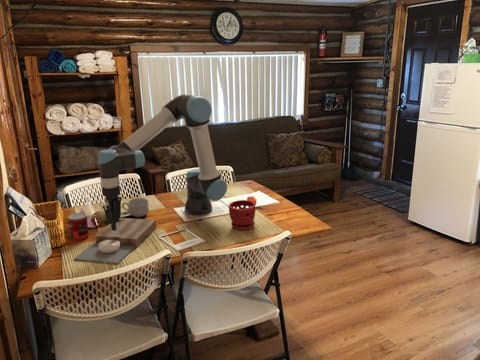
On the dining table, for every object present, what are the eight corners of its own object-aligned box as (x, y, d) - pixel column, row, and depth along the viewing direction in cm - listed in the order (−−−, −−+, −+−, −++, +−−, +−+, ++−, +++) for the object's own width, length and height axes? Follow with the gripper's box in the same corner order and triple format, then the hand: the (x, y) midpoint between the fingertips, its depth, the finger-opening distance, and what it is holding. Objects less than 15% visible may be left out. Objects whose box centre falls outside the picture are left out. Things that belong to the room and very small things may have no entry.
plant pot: (242, 219, 205) (242, 197, 201) (260, 226, 196) (260, 204, 192) (223, 226, 196) (223, 204, 192) (242, 234, 187) (242, 210, 183)
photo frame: (177, 249, 170) (158, 236, 184) (177, 252, 170) (158, 238, 184) (205, 240, 179) (185, 228, 192) (205, 242, 179) (185, 230, 193)
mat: (134, 247, 174) (134, 246, 174) (118, 264, 160) (118, 262, 159) (93, 244, 177) (93, 243, 177) (74, 260, 163) (73, 258, 163)
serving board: (156, 227, 195) (155, 220, 194) (137, 247, 174) (136, 239, 173) (118, 224, 198) (118, 217, 197) (95, 243, 178) (94, 235, 176)
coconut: (97, 234, 197) (100, 222, 193) (84, 222, 200) (87, 210, 196) (113, 227, 205) (116, 215, 201) (100, 215, 208) (103, 204, 204)
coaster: (124, 246, 174) (123, 240, 173) (112, 254, 165) (111, 248, 165) (107, 243, 176) (106, 238, 176) (94, 251, 168) (93, 246, 167)
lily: (70, 238, 186) (77, 222, 183) (62, 222, 193) (69, 206, 190) (94, 237, 195) (101, 222, 192) (86, 222, 202) (92, 207, 199)
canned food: (73, 234, 188) (71, 213, 184) (91, 233, 188) (88, 212, 185) (68, 241, 180) (65, 219, 177) (86, 240, 181) (83, 218, 178)
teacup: (152, 211, 215) (151, 198, 213) (145, 219, 205) (144, 205, 203) (127, 211, 217) (126, 197, 214) (119, 218, 206) (118, 204, 204)
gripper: (109, 181, 175) (115, 229, 182) (94, 190, 162) (100, 241, 169) (125, 181, 173) (130, 230, 180) (111, 191, 161) (117, 243, 168)
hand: (116, 235), depth 175 cm, fingers closed
